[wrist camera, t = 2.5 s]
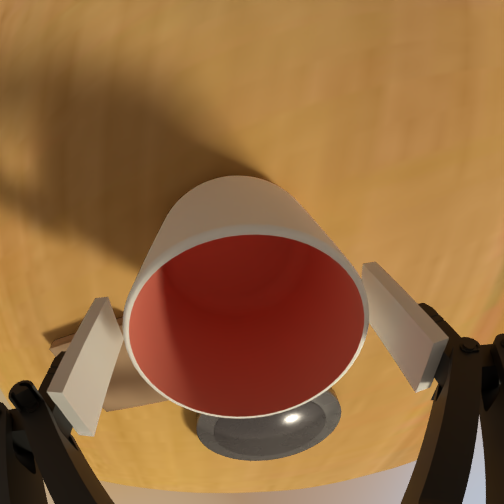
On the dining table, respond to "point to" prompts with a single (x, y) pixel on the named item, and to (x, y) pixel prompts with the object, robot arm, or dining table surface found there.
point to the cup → (243, 303)
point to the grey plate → (271, 430)
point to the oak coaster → (120, 379)
